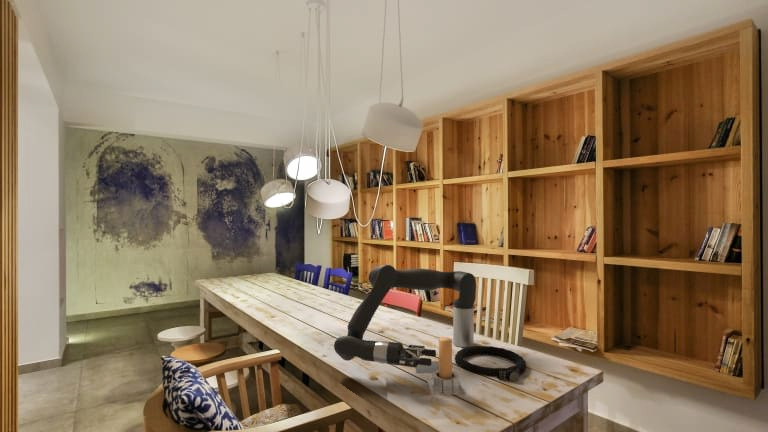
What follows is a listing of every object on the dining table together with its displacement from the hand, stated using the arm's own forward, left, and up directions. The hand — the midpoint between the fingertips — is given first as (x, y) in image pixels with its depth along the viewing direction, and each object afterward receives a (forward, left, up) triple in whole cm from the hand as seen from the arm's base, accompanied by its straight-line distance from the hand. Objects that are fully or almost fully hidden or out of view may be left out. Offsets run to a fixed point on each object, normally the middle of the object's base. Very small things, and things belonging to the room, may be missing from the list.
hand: (433, 357), depth 128 cm
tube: (+1, +4, -9) cm, 10 cm away
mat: (-16, +1, -10) cm, 19 cm away
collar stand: (+1, +4, -10) cm, 11 cm away
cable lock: (-19, +26, -11) cm, 34 cm away
